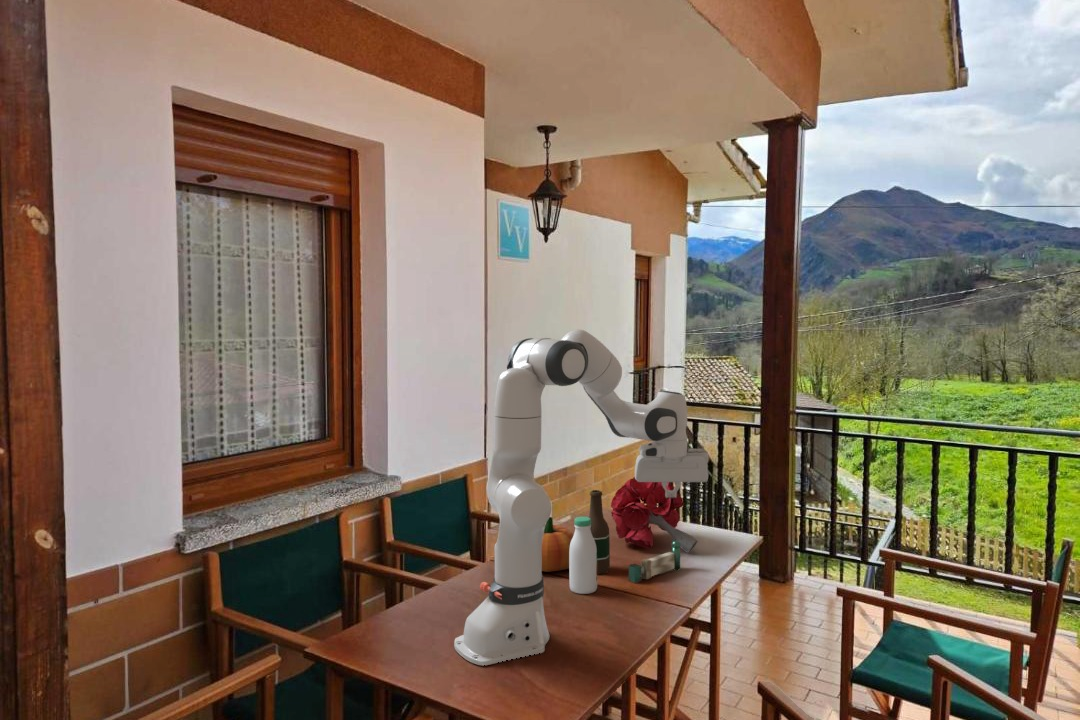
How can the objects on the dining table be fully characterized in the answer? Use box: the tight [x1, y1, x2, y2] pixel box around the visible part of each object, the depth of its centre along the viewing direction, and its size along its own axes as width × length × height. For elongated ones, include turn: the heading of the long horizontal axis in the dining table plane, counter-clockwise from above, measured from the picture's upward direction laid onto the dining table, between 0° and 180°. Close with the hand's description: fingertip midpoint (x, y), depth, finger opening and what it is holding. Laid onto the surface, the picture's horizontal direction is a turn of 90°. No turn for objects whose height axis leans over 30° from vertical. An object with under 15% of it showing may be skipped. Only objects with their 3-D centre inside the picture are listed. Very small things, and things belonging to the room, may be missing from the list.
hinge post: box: [671, 539, 681, 571], centre depth 202 cm, size 3×3×9 cm
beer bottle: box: [588, 489, 611, 575], centre depth 201 cm, size 8×8×24 cm
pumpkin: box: [541, 516, 574, 573], centre depth 206 cm, size 19×19×15 cm
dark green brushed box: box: [628, 563, 644, 584], centre depth 193 cm, size 3×3×4 cm
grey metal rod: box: [641, 569, 675, 580], centre depth 198 cm, size 14×1×1 cm, turn 124°
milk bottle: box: [568, 516, 598, 595], centre depth 187 cm, size 8×8×20 cm
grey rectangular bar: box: [640, 551, 674, 580], centre depth 197 cm, size 12×2×5 cm, turn 129°
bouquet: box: [610, 476, 698, 554], centre depth 222 cm, size 22×24×30 cm
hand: (670, 497), depth 189 cm, fingers closed
